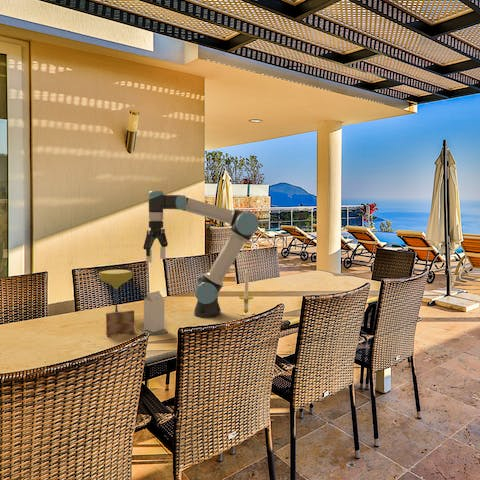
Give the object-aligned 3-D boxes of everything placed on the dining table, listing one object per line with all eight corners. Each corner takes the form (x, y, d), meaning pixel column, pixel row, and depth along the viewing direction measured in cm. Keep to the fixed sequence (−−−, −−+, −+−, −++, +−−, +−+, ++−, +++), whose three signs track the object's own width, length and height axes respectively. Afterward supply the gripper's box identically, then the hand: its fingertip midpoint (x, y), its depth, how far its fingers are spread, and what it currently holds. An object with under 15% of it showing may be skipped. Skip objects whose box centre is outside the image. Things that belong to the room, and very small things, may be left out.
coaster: (162, 326, 214) (162, 325, 214) (167, 333, 204) (167, 331, 204) (140, 329, 210) (140, 327, 210) (145, 335, 200) (145, 334, 200)
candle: (255, 311, 246) (256, 266, 243) (253, 316, 236) (254, 269, 233) (238, 311, 247) (239, 265, 244) (236, 315, 237) (237, 268, 234)
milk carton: (143, 329, 206) (143, 292, 204) (154, 326, 212) (154, 289, 210) (153, 332, 202) (153, 294, 200) (164, 329, 208) (164, 291, 206)
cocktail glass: (118, 308, 247) (118, 266, 244) (139, 314, 237) (139, 270, 234) (92, 315, 232) (91, 271, 229) (114, 321, 222) (113, 275, 219)
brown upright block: (133, 330, 207) (133, 309, 206) (135, 334, 202) (135, 311, 201) (105, 334, 201) (105, 311, 200) (107, 337, 197) (106, 314, 196)
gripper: (162, 219, 232) (162, 256, 234) (136, 221, 209) (136, 263, 211) (174, 219, 229) (174, 257, 232) (149, 221, 206) (149, 264, 208)
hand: (156, 260), depth 221 cm, fingers open, 13 cm apart
